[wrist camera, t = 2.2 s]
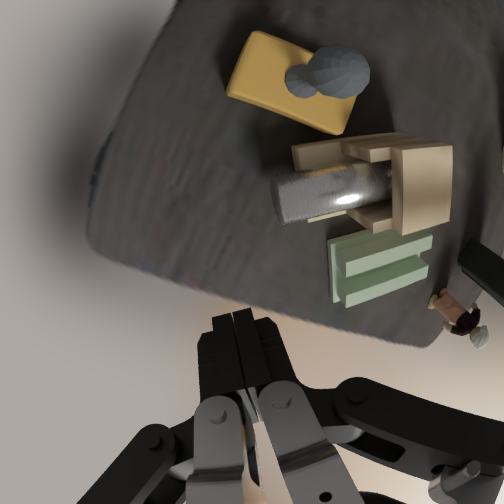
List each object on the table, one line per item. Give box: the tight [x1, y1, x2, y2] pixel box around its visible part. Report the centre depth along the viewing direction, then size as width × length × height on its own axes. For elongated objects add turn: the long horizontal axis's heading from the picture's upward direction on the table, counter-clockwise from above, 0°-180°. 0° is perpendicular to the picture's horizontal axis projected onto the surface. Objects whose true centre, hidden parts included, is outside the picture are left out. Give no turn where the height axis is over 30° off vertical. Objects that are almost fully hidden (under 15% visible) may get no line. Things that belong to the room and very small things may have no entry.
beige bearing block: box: [291, 132, 452, 236], centre depth 23 cm, size 7×12×8 cm, turn 101°
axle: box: [270, 160, 392, 225], centre depth 23 cm, size 14×4×4 cm, turn 102°
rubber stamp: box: [225, 31, 370, 135], centre depth 16 cm, size 10×6×12 cm, turn 70°
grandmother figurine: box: [428, 288, 489, 349], centre depth 33 cm, size 8×4×13 cm, turn 121°
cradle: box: [327, 229, 433, 308], centre depth 30 cm, size 8×13×4 cm, turn 101°
